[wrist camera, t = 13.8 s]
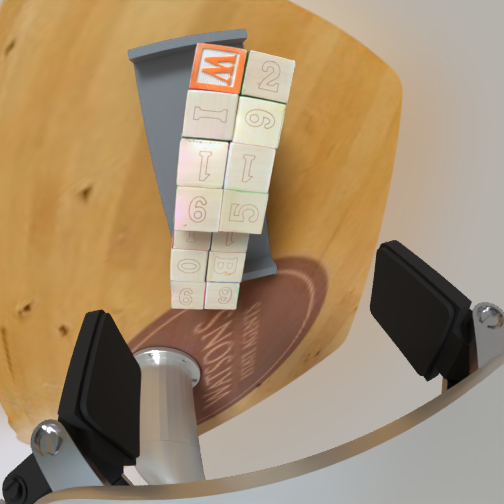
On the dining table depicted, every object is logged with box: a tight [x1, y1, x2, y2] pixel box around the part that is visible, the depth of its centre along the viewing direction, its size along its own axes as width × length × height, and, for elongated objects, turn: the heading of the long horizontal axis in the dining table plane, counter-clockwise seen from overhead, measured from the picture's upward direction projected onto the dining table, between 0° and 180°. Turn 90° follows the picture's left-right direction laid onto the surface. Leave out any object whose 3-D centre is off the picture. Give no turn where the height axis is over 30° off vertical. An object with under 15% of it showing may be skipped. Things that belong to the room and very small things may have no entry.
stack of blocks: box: [170, 43, 295, 309], centre depth 24 cm, size 21×6×12 cm, turn 170°
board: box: [128, 29, 277, 281], centre depth 28 cm, size 27×11×4 cm, turn 8°
